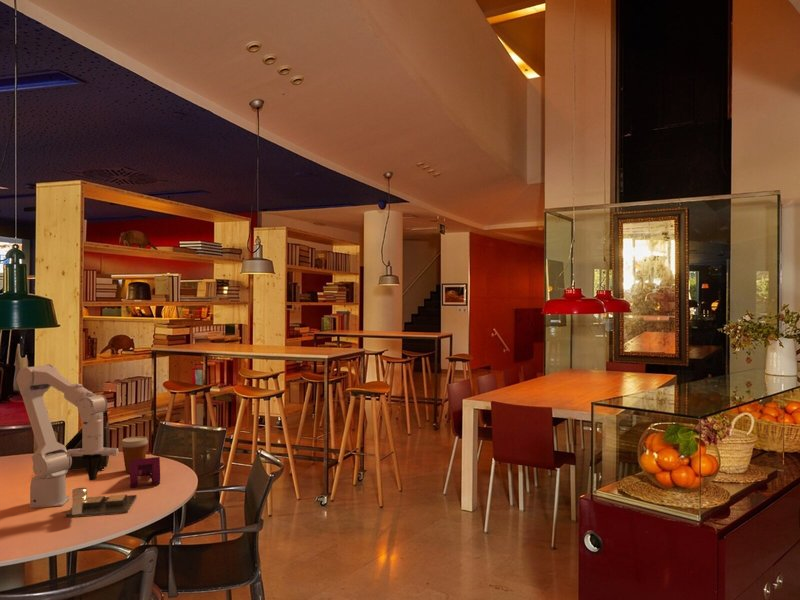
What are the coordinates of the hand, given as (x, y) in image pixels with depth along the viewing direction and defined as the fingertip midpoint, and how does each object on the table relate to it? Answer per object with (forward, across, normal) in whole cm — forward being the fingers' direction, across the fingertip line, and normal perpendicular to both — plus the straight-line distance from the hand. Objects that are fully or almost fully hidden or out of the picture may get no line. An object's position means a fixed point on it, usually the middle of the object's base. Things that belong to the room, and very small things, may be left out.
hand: (92, 479), depth 187 cm
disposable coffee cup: (+10, +2, -43) cm, 44 cm away
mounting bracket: (+10, -6, -30) cm, 32 cm away
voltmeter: (+10, +23, -50) cm, 56 cm away
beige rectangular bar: (+6, +2, +5) cm, 8 cm away
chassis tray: (+9, -2, -2) cm, 10 cm away
